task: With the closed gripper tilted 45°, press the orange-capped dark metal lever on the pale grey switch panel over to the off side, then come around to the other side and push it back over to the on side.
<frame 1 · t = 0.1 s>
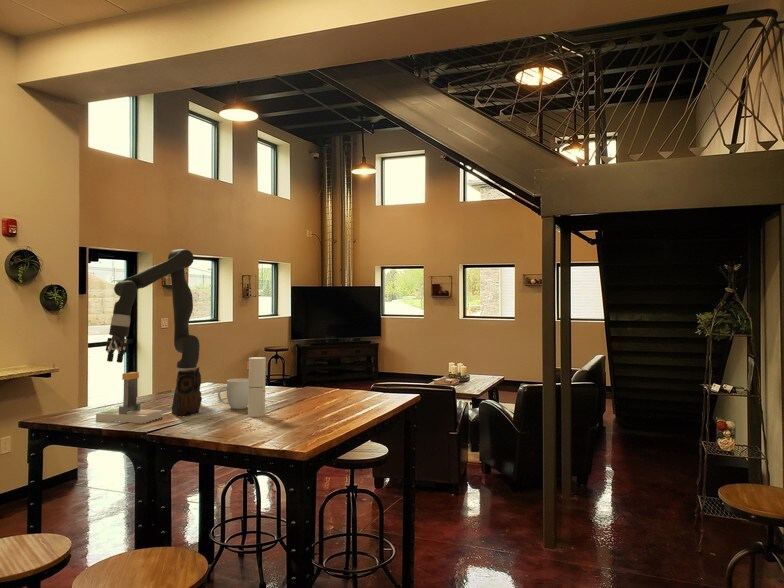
hand: (114, 362, 239), 22 cm above the table, tool pointing down, fingers open, 8 cm apart
mug: (236, 408, 255), on the table
switch panel: (129, 419, 227), on the table
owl: (184, 413, 241), on the table
lever: (130, 392, 227), point 11 cm above the table, hinge at 0.0°
white tall block: (256, 415, 238), on the table
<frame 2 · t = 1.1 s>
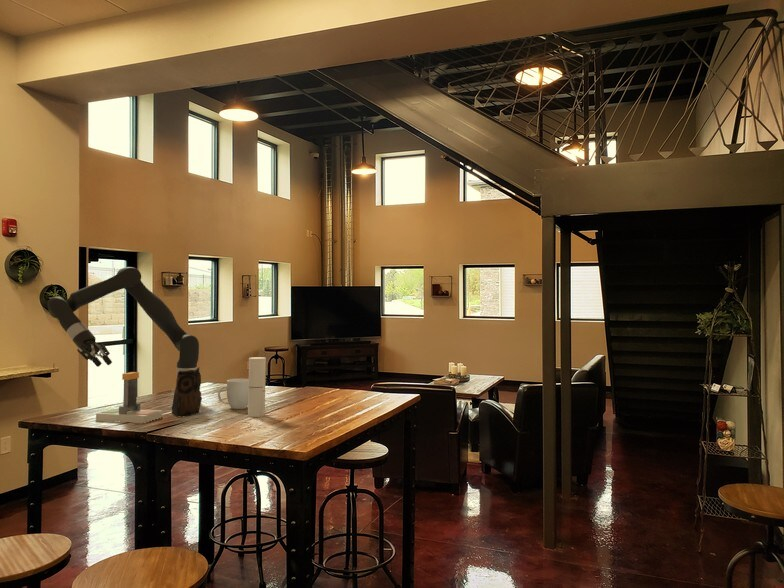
hand: (104, 364, 230), 22 cm above the table, tool tilted 45°, fingers open, 5 cm apart
nothing on the table moved.
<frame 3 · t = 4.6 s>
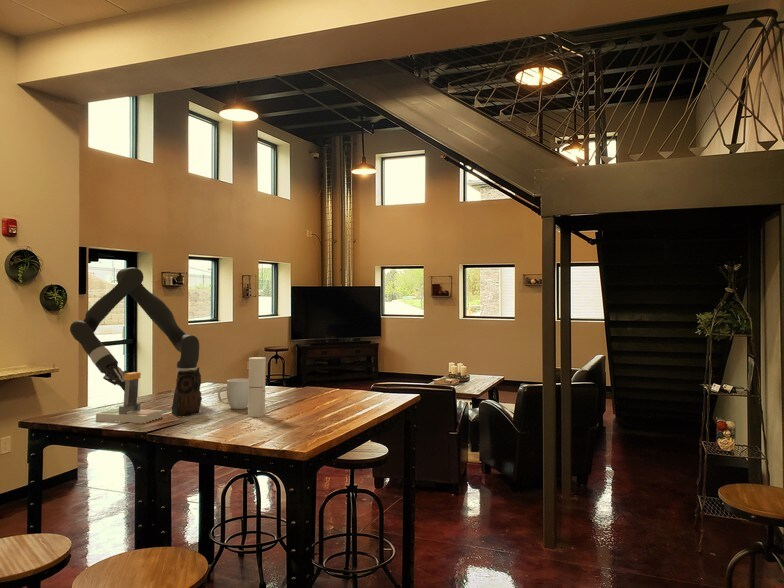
hand: (128, 390, 227), 12 cm above the table, tool tilted 45°, fingers closed
lever: (131, 392, 227), point 11 cm above the table, hinge at 3.4°, touching gripper
everything else where it was.
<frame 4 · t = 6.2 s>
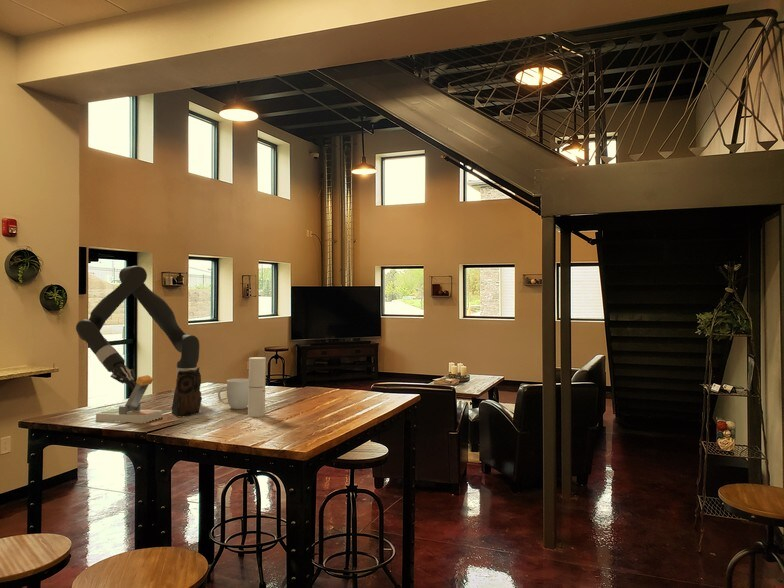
hand: (135, 388, 227), 13 cm above the table, tool tilted 45°, fingers closed
lever: (137, 394, 226), point 10 cm above the table, hinge at 29.0°
everything else where it was.
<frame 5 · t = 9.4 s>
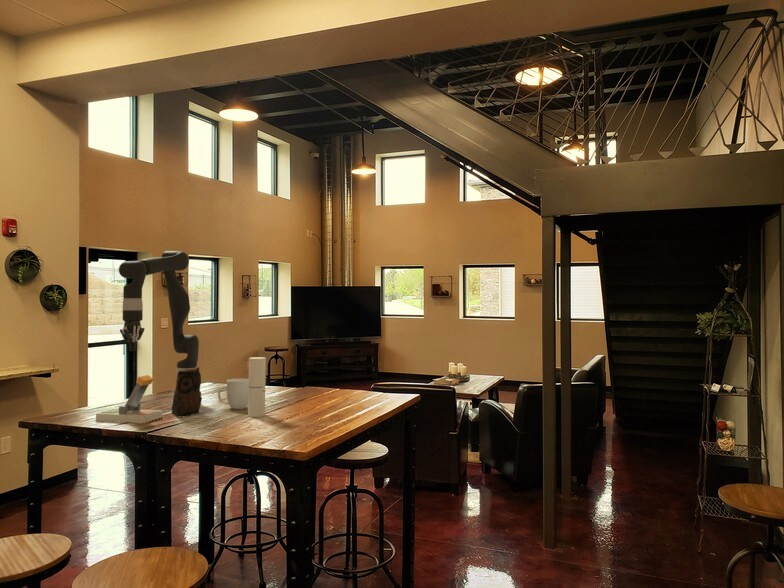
hand: (132, 351, 226), 28 cm above the table, tool pointing down, fingers closed
nothing on the table moved.
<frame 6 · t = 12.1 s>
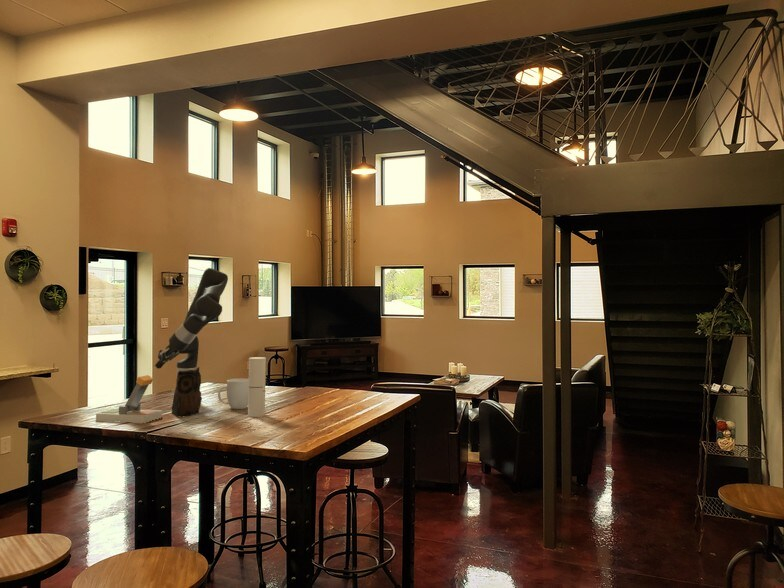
hand: (157, 367, 225), 22 cm above the table, tool tilted 45°, fingers closed
nothing on the table moved.
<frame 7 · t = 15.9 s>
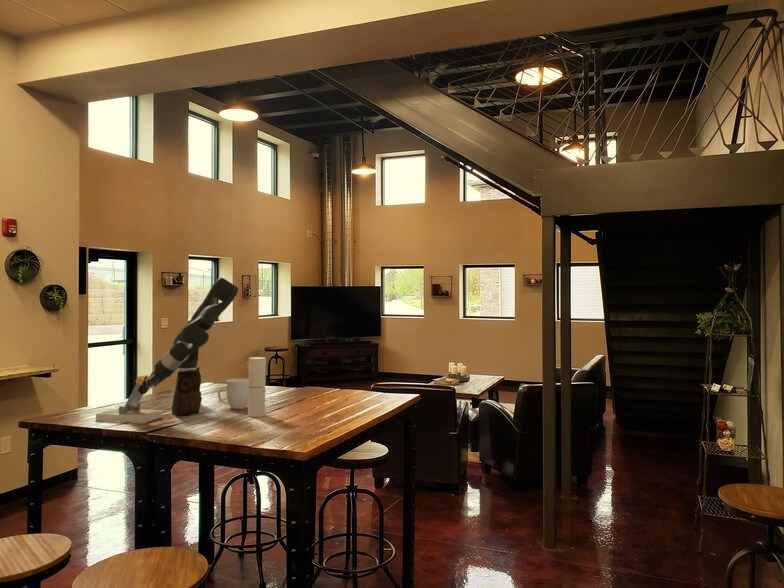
hand: (141, 392, 225), 11 cm above the table, tool tilted 45°, fingers closed
lever: (137, 394, 227), point 10 cm above the table, hinge at 28.1°, touching gripper
everything else where it was.
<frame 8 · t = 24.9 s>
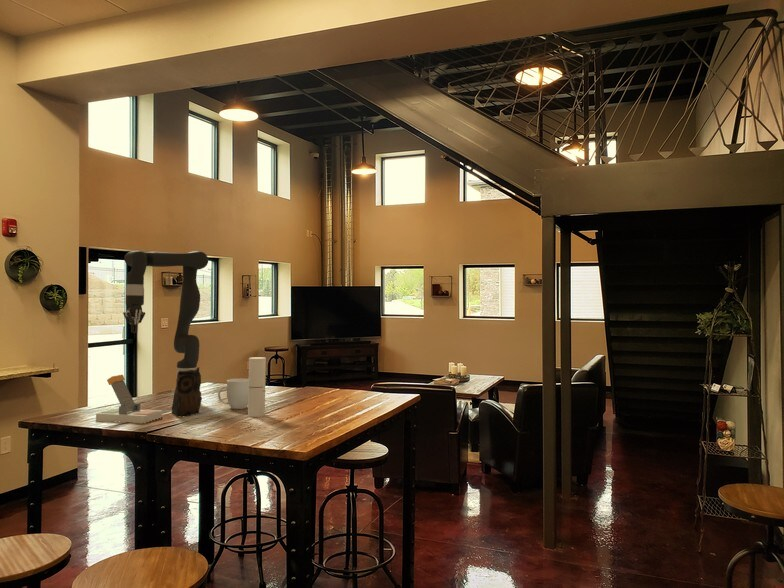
hand: (134, 332, 248), 35 cm above the table, tool pointing down, fingers closed
lever: (122, 394, 228), point 10 cm above the table, hinge at -30.2°
everything else where it was.
at the end: lever at -30° (first picture: +0°) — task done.
